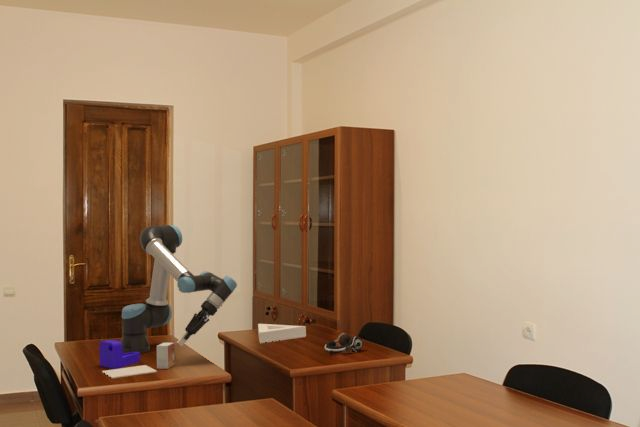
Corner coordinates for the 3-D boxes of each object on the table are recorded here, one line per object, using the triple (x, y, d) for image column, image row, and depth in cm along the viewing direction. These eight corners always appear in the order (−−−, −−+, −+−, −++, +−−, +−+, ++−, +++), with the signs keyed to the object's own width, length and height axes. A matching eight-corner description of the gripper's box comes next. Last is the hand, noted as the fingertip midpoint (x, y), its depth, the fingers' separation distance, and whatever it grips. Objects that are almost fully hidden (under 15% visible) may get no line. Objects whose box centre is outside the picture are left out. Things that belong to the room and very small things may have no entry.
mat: (101, 372, 323) (101, 370, 323) (145, 366, 333) (145, 364, 333) (111, 378, 310) (111, 377, 310) (157, 372, 321) (157, 370, 321)
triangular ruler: (258, 334, 414) (258, 323, 413) (303, 333, 416) (303, 322, 416) (259, 344, 384) (259, 332, 384) (308, 342, 387) (308, 330, 387)
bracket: (114, 369, 328) (113, 343, 328) (99, 366, 335) (99, 340, 335) (146, 362, 343) (145, 337, 342) (132, 359, 349) (131, 335, 349)
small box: (168, 369, 326) (167, 345, 326) (156, 368, 328) (156, 345, 327) (175, 365, 334) (174, 342, 334) (163, 364, 335) (163, 342, 335)
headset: (366, 335, 357) (332, 346, 347) (368, 350, 358) (334, 361, 348) (347, 330, 372) (314, 340, 362) (349, 345, 372) (316, 355, 362)
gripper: (223, 311, 339) (190, 351, 330) (211, 308, 350) (179, 347, 341) (212, 301, 336) (179, 341, 327) (200, 298, 347) (168, 337, 338)
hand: (179, 344), depth 334 cm, fingers closed
